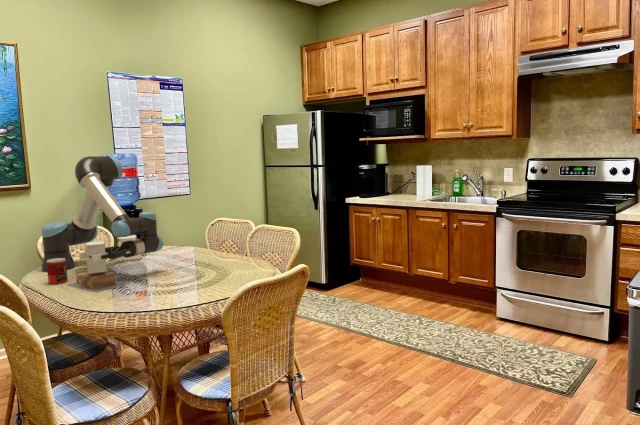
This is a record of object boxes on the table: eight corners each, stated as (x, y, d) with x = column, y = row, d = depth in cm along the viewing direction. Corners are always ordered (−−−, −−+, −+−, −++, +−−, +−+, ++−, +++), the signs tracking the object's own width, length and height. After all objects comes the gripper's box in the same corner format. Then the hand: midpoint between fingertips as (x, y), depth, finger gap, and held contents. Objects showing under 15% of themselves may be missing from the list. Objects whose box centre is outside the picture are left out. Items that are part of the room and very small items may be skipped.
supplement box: (88, 274, 210) (85, 245, 208) (87, 270, 216) (85, 242, 215) (107, 271, 213) (104, 243, 211) (105, 268, 220) (103, 240, 218)
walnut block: (81, 286, 214) (80, 275, 213) (102, 281, 222) (101, 270, 222) (94, 289, 208) (93, 278, 208) (115, 284, 217) (114, 273, 216)
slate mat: (65, 286, 218) (65, 285, 217) (95, 279, 229) (95, 277, 229) (96, 294, 204) (96, 292, 204) (126, 286, 216) (126, 284, 215)
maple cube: (76, 283, 220) (75, 274, 219) (85, 281, 223) (84, 272, 222) (81, 284, 217) (80, 275, 217) (90, 282, 221) (89, 273, 220)
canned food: (59, 286, 218) (57, 261, 217) (44, 285, 220) (42, 261, 219) (71, 281, 226) (69, 258, 224) (56, 281, 227) (54, 257, 226)
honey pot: (111, 259, 272) (109, 227, 269) (125, 254, 284) (123, 223, 282) (132, 260, 269) (130, 227, 267) (145, 255, 281) (143, 224, 279)
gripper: (117, 238, 234) (71, 246, 216) (146, 242, 222) (100, 251, 203) (118, 253, 235) (72, 263, 217) (147, 258, 223) (102, 269, 204)
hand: (86, 257), depth 210 cm, fingers closed on supplement box, 9 cm apart
